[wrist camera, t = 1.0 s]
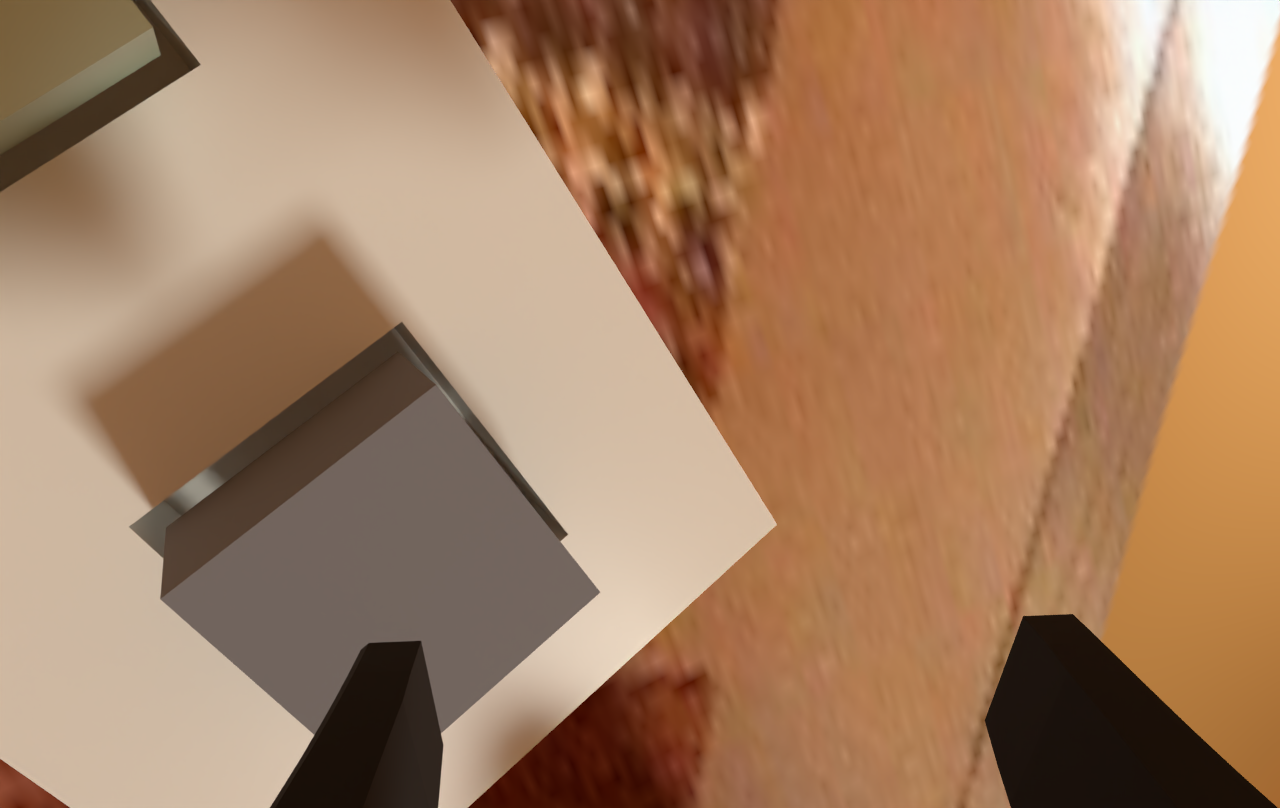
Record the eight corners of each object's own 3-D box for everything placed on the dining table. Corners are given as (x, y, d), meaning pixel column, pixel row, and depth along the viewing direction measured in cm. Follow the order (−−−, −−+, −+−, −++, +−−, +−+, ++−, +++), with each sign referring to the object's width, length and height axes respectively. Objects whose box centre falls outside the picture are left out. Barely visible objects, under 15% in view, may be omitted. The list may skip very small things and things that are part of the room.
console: (280, 839, 22) (295, 965, 18) (-993, -154, 11) (-1522, -302, 8) (695, 475, 25) (776, 524, 21) (-1, -579, 14) (-63, -823, 11)
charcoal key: (350, 699, 18) (376, 790, 15) (165, 527, 15) (160, 598, 13) (543, 534, 19) (600, 592, 16) (398, 351, 16) (436, 384, 14)
